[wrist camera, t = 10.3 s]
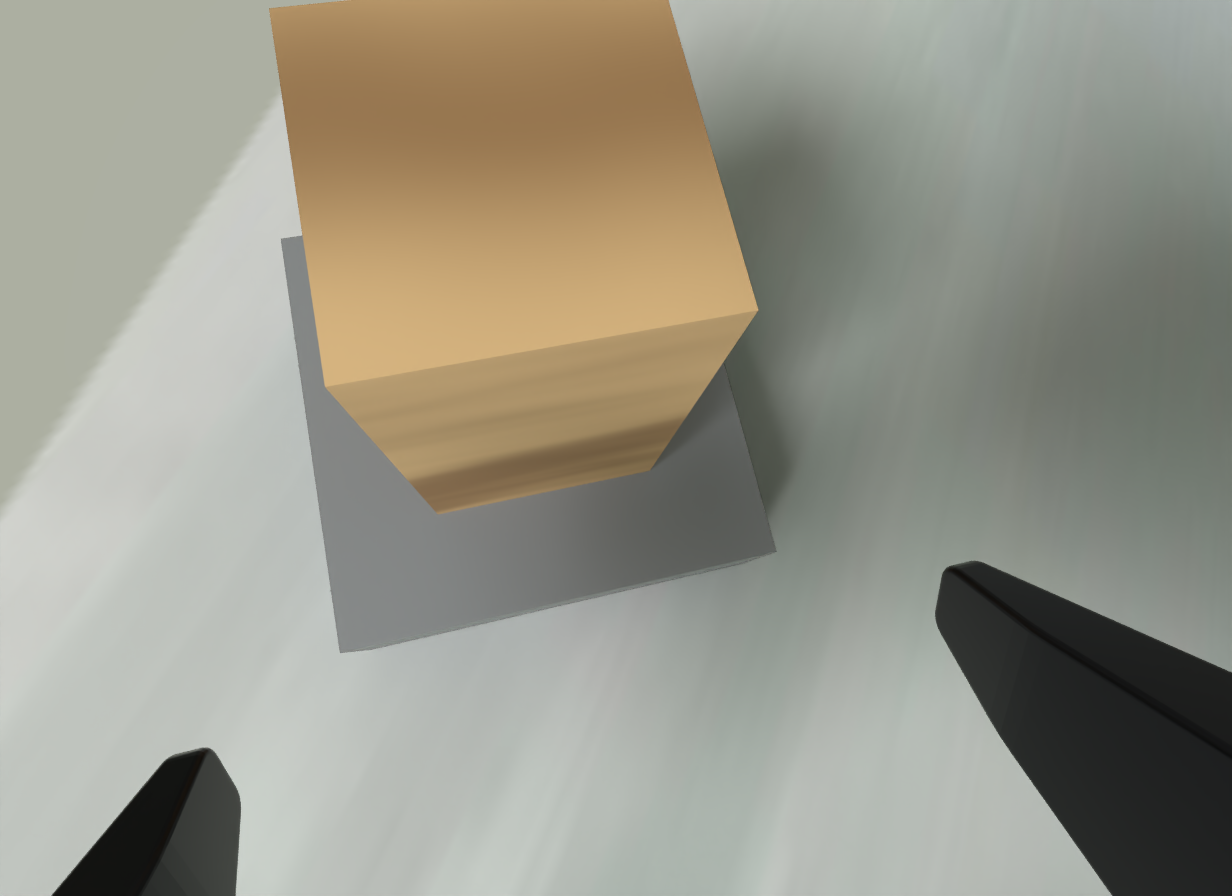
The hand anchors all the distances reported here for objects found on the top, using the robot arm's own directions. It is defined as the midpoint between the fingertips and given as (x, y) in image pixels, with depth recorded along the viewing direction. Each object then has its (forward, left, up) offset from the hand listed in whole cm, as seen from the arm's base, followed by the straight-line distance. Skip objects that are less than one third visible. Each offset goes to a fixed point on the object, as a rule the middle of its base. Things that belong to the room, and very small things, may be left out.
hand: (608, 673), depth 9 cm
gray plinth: (+6, +1, -11) cm, 12 cm away
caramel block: (+6, +1, -8) cm, 10 cm away
